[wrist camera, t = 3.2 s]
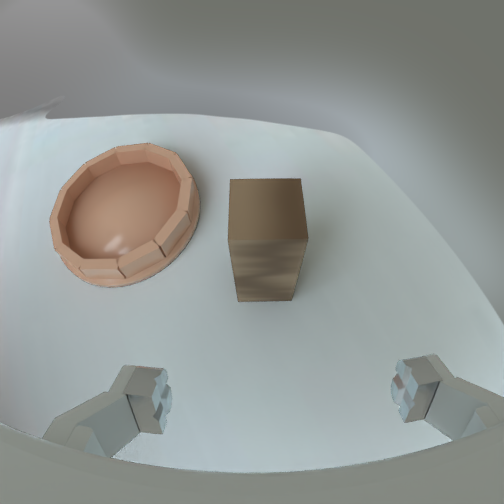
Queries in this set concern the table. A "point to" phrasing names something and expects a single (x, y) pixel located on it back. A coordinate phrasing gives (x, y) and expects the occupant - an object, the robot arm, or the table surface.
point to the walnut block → (266, 237)
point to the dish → (125, 215)
